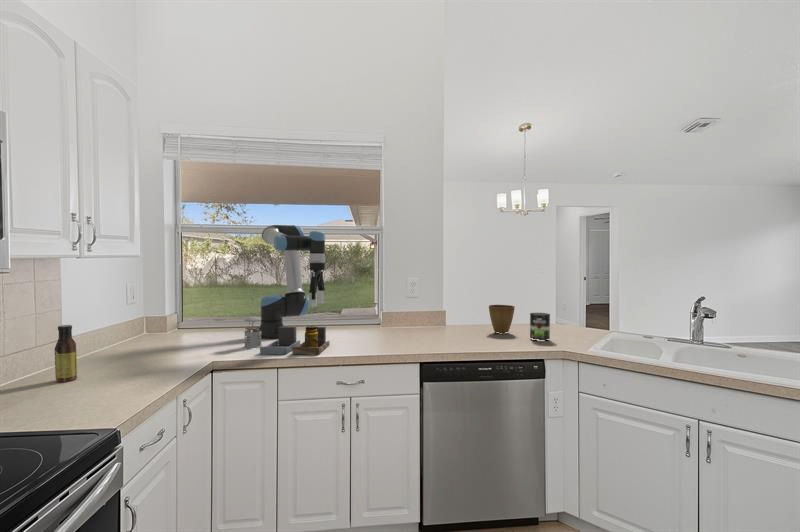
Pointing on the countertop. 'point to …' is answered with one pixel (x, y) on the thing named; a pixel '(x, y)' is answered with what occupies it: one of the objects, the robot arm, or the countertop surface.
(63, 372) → the sauce bottle
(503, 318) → the plant pot
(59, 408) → the countertop surface
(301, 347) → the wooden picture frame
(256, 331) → the french press
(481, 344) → the countertop surface
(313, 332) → the condiment
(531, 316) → the coffee can
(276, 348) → the grey frame
